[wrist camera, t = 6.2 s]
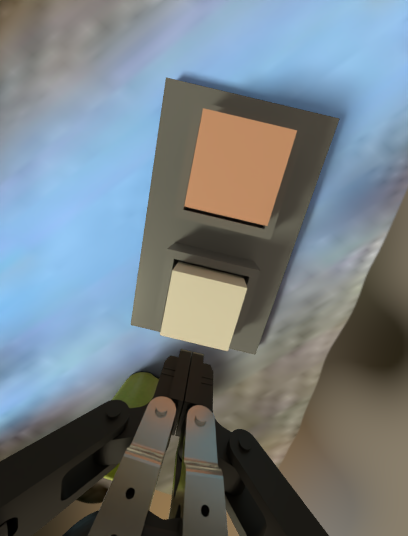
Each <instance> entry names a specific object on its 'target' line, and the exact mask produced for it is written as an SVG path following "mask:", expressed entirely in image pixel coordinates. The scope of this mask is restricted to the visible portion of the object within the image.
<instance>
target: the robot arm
mask: <svg viewBox="0 0 408 536" xmlns="http://www.w3.org/2000/svg"><path fill="white" fill-rule="evenodd" d="M191 353H192V356H191ZM203 358H204V354H200V353H196V352H191V351H187V350H183V349H181V350H180V354H179V357H175V356H170V357H168V358H167V359H166V360H165V363H164V366H163V369H162V372H161V375H160V378H159V381H158V384H157V387H156V390H155V393H154V396H153V398H152V400H151V401H150V402H149V403H148V404H146V405H144V406H141V407H136V408H129V407H128V405H127V404H126V403H125V402H124V401H122V400H111V401H108V402H106V403H104V404H102V405H100V406H99V407H97V408H95V409H93V410H92V411H90V412H88V413H86V414H84V415H83V416H81V417H79V418H77V419H75V420H74V421H72V422H70V423H68V424H67V425H65V426H63V427H61V428H59V429H58V430H56V431H54V432H52V433H50V434H49V435H47V436H45V437H43V438H42V439H40V440H38V441H36V442H34V443H33V444H31V445H29V446H27V447H25V448H24V449H22V450H20V451H18V452H17V453H15V454H13V455H11V456H9V457H8V458H6V459H4V460H2V461H0V536H32V535H33V534H35V533H36V532H37V531H38V530H40V529H41V528H42V527H43V526H44V525H46V524H47V523H48V522H49V521H50V520H52V519H53V518H54V517H55V516H57V515H58V514H59V513H60V512H61V511H63V510H64V509H65V508H66V507H67V506H69V505H70V504H71V503H72V502H74V501H75V500H76V499H77V498H79V497H80V496H81V495H82V494H83V493H85V492H86V491H87V490H88V489H89V488H91V487H92V486H93V485H94V484H96V483H97V482H98V481H99V480H100V479H102V478H103V477H104V476H105V475H107V474H108V473H109V472H110V471H111V470H113V469H114V468H115V467H116V466H117V465H118V464H119V463H120V465H119V467H118V469H117V471H116V474H115V476H114V478H113V480H112V483H111V485H110V487H109V489H108V492H107V494H106V496H105V498H104V501H103V503H102V505H101V507H100V510H99V511H96V512H94V513H92V514H89V515H88V516H86V517H84V518H83V519H82V520H80V521H79V522H77V523H76V524H75V525H73V526H72V527H71V528H70V529H69V530H68V531H67V532H66V533H65V534H64V535H63V536H228V530H227V518H226V511H227V512H228V514H229V516H230V518H231V520H232V522H233V524H234V526H235V528H236V530H237V532H238V534H239V535H240V536H329V535H328V534H327V533H326V531H325V530H324V529H323V527H322V526H321V525H320V524H319V522H318V521H317V519H316V518H315V517H314V516H313V514H312V513H311V512H310V510H309V509H308V508H307V506H306V505H305V504H304V502H303V501H302V500H301V498H300V497H299V496H298V494H297V493H296V492H295V490H294V489H293V488H292V487H291V485H290V484H289V483H288V481H287V480H286V479H285V477H284V476H283V475H282V474H281V472H280V471H279V469H278V468H277V467H276V465H275V464H274V463H273V461H272V460H271V459H270V458H269V456H268V455H267V454H266V452H265V451H264V450H263V448H262V447H261V446H260V444H259V443H258V442H257V440H256V439H255V438H254V437H253V435H252V434H250V433H249V432H248V431H246V430H243V429H237V430H234V431H233V432H230V431H229V430H227V429H225V428H224V427H222V426H221V425H220V424H219V423H218V422H217V421H216V419H215V417H214V415H213V370H212V368H211V366H210V365H208V364H204V363H203ZM177 423H178V424H177ZM176 426H177V429H176ZM175 430H176V435H175V436H180V438H179V444H178V448H177V452H176V459H175V469H174V479H173V490H172V500H171V508H170V513H169V519H167V520H163V519H161V518H159V517H158V516H156V515H154V514H153V513H151V512H150V511H149V510H150V506H151V502H152V499H153V495H154V491H155V488H156V484H157V481H158V477H159V473H160V470H161V466H162V463H163V459H164V455H165V452H166V450H167V448H168V446H169V442H170V438H171V435H174V434H175Z"/></svg>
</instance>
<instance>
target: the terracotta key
mask: <svg viewBox="0 0 408 536" xmlns="http://www.w3.org/2000/svg"><path fill="white" fill-rule="evenodd" d="M296 133H297V130H293V129H289V128H285V127H280V126H276V125H272V124H268V123H263V122H259V121H255V120H251V119H247V118H242V117H238V116H234V115H230V114H226V113H221V112H217V111H213V110H209V109H204V108H203V111H202V117H201V122H200V127H199V132H198V137H197V143H196V148H195V153H194V158H193V163H192V169H191V174H190V179H189V184H188V189H187V195H186V200H185V205H184V206H185V207H189V208H193V209H198V210H202V211H206V212H210V213H214V214H219V215H223V216H227V217H231V218H235V219H240V220H244V221H248V222H252V223H256V224H261V225H265V226H268V223H269V220H270V216H271V213H272V210H273V207H274V204H275V200H276V197H277V194H278V191H279V188H280V184H281V181H282V178H283V175H284V172H285V168H286V165H287V162H288V159H289V155H290V152H291V149H292V146H293V143H294V139H295V136H296Z"/></svg>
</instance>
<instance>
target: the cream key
mask: <svg viewBox="0 0 408 536" xmlns="http://www.w3.org/2000/svg"><path fill="white" fill-rule="evenodd" d="M246 291H247V285H246V283H245V280H244V277H242V276H238V275H233V274H229V273H225V272H221V271H217V270H212V269H208V268H204V267H200V266H196V265H191V264H187V263H183V262H178V263H177V265H176V266H175V267H174V269H173V270H172V275H171V280H170V286H169V291H168V296H167V301H166V306H165V311H164V317H163V322H162V327H161V332H160V335H162V336H166V337H170V338H174V339H179V340H183V341H187V342H191V343H195V344H199V345H204V346H208V347H212V348H216V349H220V350H225V351H228V349H229V346H230V343H231V339H232V336H233V333H234V330H235V327H236V323H237V320H238V317H239V314H240V310H241V307H242V304H243V301H244V298H245V294H246Z"/></svg>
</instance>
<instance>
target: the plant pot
mask: <svg viewBox="0 0 408 536" xmlns="http://www.w3.org/2000/svg"><path fill="white" fill-rule="evenodd" d="M158 381H159V379H157V378H156V377H154V376H153V375H152V374H150V373H146V372H139V373H135V374H133V375H131V376H130V377H129V378H128V379H127V380H126V381H125V383H124V384H123V385H122V387H121V388H120V389H119V391H118V392H117V394H116V395H115V396H114V398H113V399H112V400H122V401H124V402H125V403H126V404H127V405H128V407H129V408H136V407H141V406H144V405H146V404H148V403H149V402H150V401H151V400H152V398H153V396H154V393H155V390H156V387H157V384H158ZM119 465H120V463H119V464H118V465H117V466H116V467H115V468H114V469H113V470H111V471H110V472H109V473H108V474H107V475H105V476H104V478H106V479H109V480H113V478H114V476H115V474H116V471H117V469H118V467H119Z"/></svg>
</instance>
